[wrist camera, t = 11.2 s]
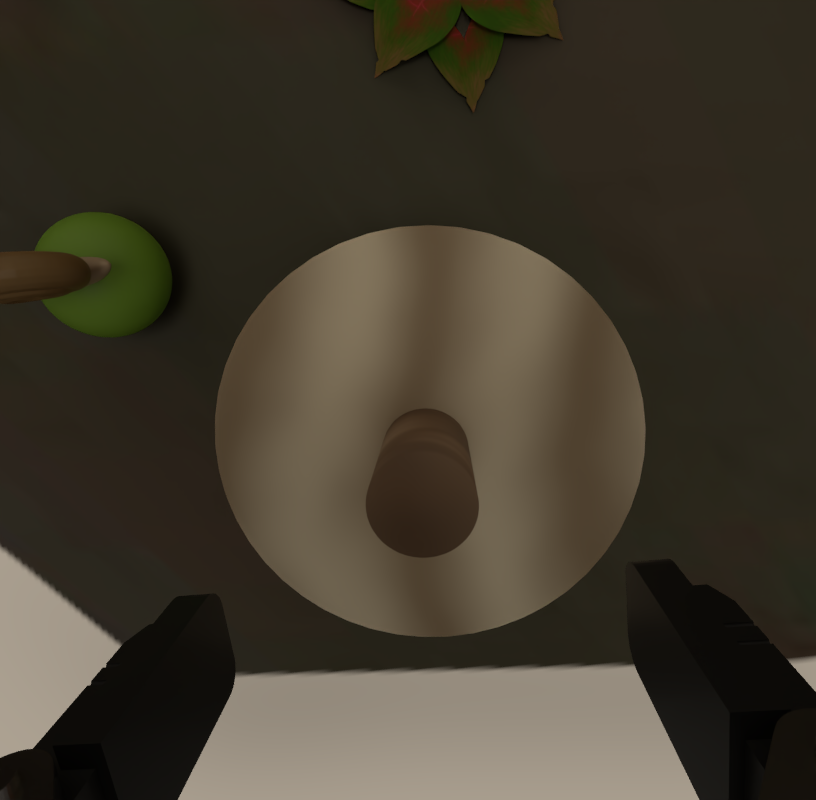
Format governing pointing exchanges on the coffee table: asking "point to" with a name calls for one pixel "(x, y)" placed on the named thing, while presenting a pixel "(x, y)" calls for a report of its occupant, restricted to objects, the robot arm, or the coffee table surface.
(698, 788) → the robot arm
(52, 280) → the snail figurine
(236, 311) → the coffee table surface
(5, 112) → the coffee table surface
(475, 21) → the lily flower
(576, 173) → the coffee table surface
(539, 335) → the lid
